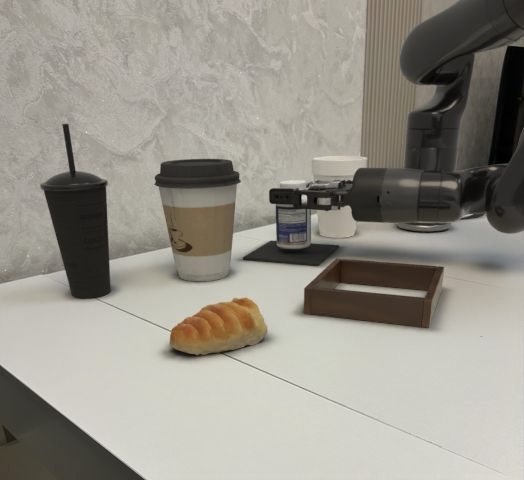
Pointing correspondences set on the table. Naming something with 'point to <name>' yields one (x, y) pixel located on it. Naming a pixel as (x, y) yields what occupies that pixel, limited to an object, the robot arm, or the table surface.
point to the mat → (292, 254)
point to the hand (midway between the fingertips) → (277, 193)
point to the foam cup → (333, 169)
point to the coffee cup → (199, 215)
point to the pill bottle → (293, 221)
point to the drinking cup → (80, 226)
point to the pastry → (220, 328)
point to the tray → (375, 304)
